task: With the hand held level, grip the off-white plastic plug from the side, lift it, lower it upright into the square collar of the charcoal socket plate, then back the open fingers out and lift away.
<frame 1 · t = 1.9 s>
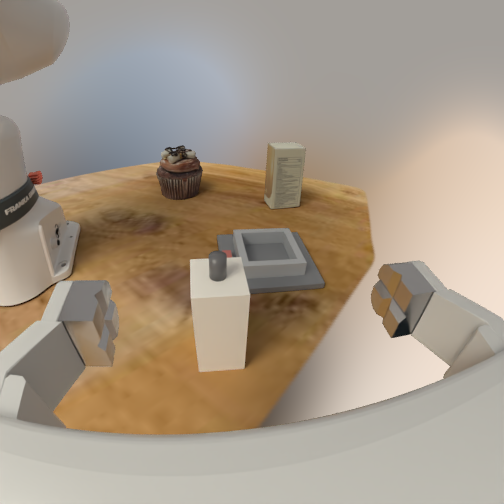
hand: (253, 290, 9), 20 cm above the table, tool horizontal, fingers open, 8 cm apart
skincare box: (280, 204, 61), on the table
cupcake: (180, 193, 63), on the table
plug: (219, 350, 30), on the table
socket plate: (266, 261, 44), on the table
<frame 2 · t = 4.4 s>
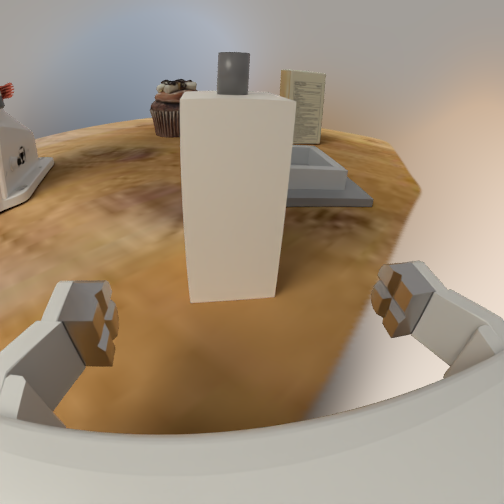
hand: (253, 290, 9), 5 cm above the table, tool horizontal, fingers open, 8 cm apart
skincare box: (297, 142, 48), on the table
cupcake: (177, 133, 51), on the table
plug: (227, 271, 18), on the table
socket plate: (289, 180, 32), on the table
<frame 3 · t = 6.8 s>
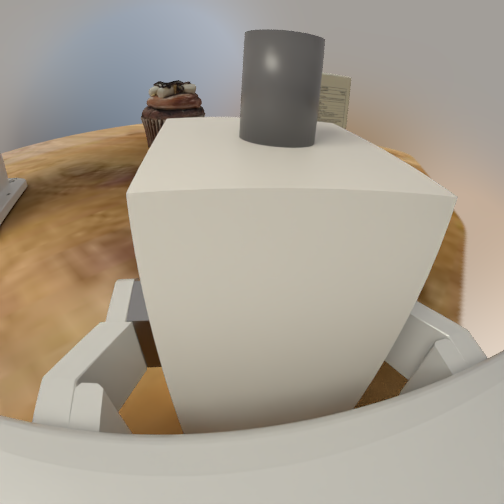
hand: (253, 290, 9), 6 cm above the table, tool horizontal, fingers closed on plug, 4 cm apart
skincare box: (315, 157, 41), on the table
cupcake: (173, 145, 44), on the table
plug: (249, 408, 11), on the table, touching gripper
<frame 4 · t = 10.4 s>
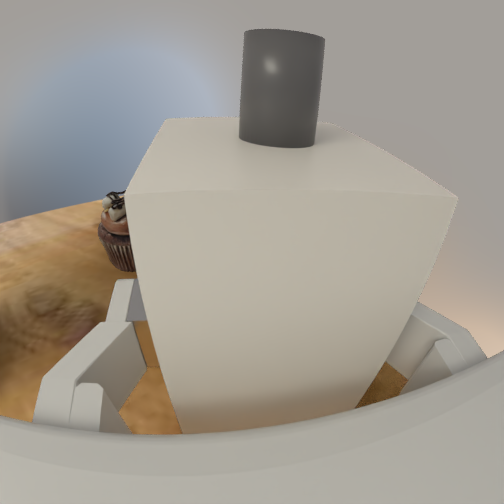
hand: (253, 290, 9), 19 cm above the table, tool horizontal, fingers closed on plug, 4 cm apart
cupcake: (136, 256, 42), on the table
plug: (249, 409, 11), point 13 cm above the table, touching gripper
when the fingers open (7 cm above the table, at t = 14.2 s): plug stays where it is, resting on socket plate.
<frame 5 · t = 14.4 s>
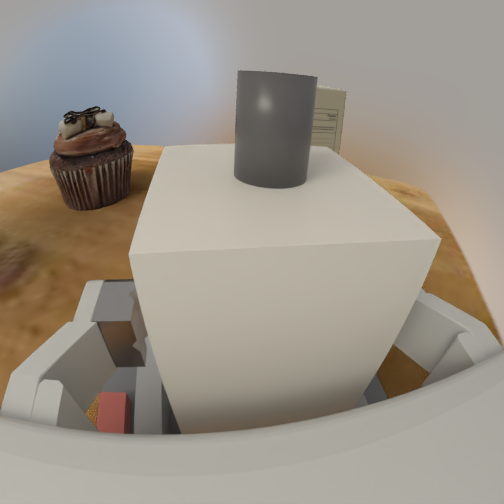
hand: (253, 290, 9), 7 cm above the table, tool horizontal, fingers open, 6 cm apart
skincare box: (288, 216, 29), on the table
cupcake: (97, 196, 31), on the table
plug: (248, 416, 11), point 1 cm above the table, touching socket plate
socket plate: (247, 423, 12), on the table
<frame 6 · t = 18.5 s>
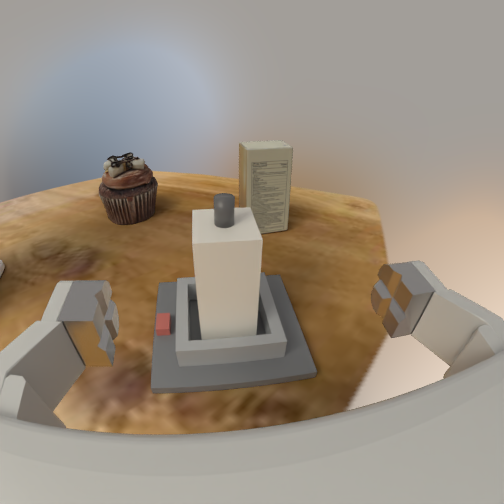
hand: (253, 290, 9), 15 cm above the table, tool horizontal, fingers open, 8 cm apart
skincare box: (261, 227, 44), on the table
cupcake: (131, 214, 47), on the table
plug: (226, 323, 27), point 1 cm above the table, touching socket plate
socket plate: (226, 329, 27), on the table
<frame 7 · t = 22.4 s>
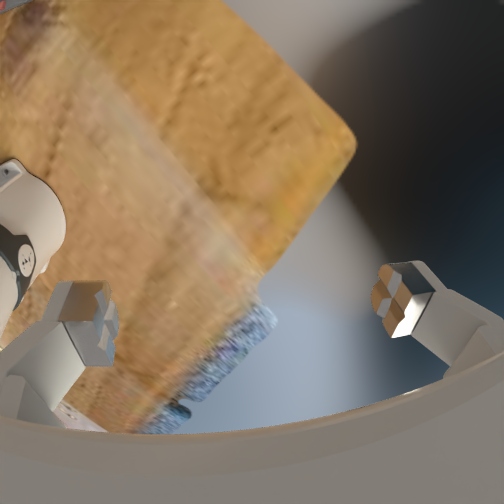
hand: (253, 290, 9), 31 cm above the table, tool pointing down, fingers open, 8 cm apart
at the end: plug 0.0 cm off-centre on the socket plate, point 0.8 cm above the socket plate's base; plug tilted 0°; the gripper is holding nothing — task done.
